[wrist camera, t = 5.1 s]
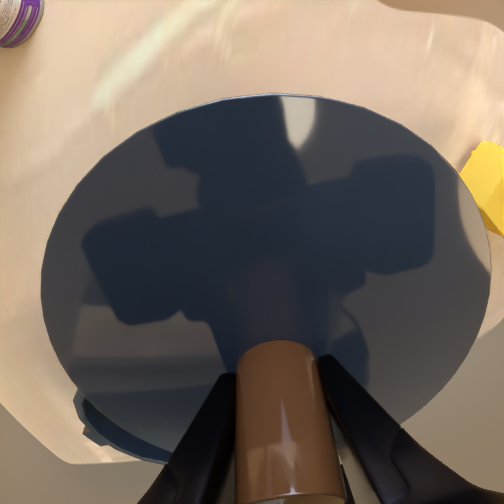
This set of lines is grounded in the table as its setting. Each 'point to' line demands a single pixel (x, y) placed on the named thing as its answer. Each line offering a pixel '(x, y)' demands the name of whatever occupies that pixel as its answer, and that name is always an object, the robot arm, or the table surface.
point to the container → (18, 20)
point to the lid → (265, 278)
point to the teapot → (487, 183)
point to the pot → (115, 433)
